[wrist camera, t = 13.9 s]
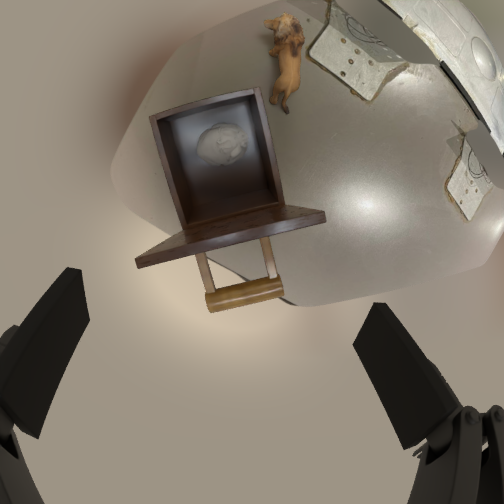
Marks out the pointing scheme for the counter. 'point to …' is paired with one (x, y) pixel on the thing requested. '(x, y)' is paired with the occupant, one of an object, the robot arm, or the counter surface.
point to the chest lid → (230, 234)
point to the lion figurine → (286, 55)
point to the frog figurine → (222, 144)
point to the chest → (221, 177)
